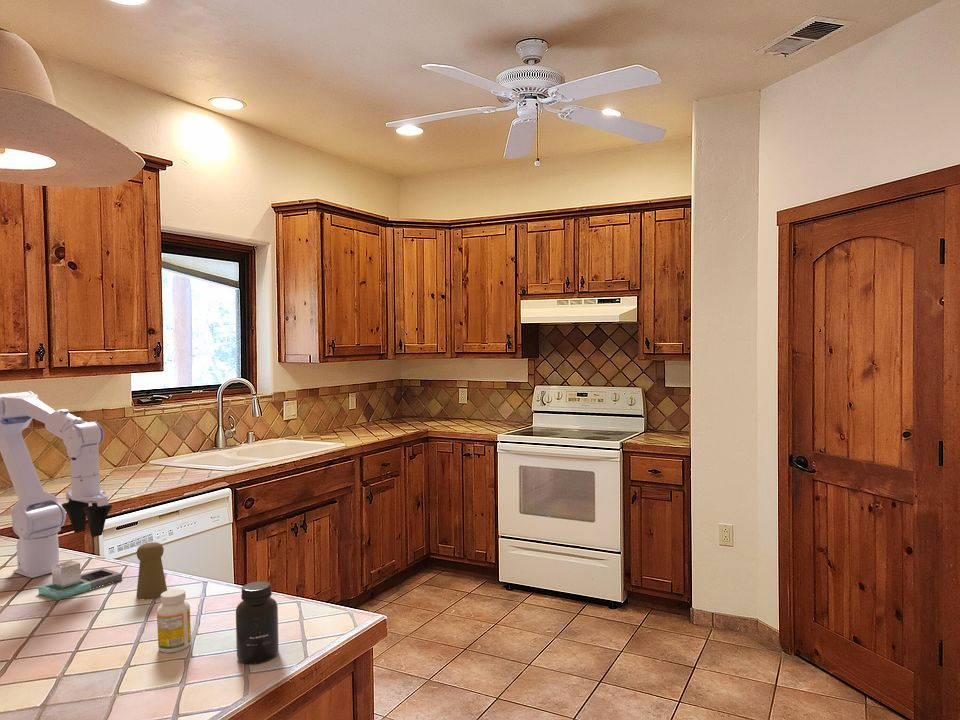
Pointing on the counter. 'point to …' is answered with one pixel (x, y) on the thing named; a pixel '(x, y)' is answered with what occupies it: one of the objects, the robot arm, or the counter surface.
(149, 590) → the cork
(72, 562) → the beige rectangular block
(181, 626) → the supplement bottle
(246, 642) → the supplement bottle
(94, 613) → the counter surface
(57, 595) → the grey teal tray
